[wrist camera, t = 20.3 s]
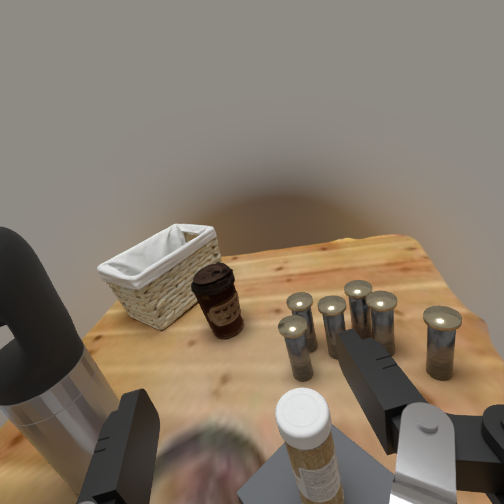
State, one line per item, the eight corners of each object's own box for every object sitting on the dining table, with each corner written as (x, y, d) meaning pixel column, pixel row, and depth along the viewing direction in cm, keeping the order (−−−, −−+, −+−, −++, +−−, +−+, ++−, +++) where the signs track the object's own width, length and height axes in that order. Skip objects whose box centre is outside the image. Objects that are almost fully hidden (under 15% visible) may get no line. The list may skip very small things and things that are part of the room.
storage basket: (159, 338, 62) (130, 278, 55) (120, 319, 72) (91, 266, 65) (233, 277, 77) (217, 224, 71) (192, 268, 87) (175, 221, 81)
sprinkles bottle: (299, 471, 33) (274, 387, 28) (341, 470, 32) (325, 383, 27) (301, 523, 29) (273, 437, 23) (349, 523, 28) (332, 433, 23)
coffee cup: (258, 324, 58) (242, 267, 53) (225, 350, 54) (203, 291, 48) (232, 309, 65) (215, 256, 59) (200, 331, 60) (179, 277, 55)
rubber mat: (238, 497, 33) (236, 492, 33) (316, 415, 39) (315, 410, 39) (334, 639, 23) (333, 635, 23) (418, 499, 29) (418, 494, 29)
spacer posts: (271, 364, 49) (258, 318, 45) (334, 311, 56) (328, 268, 52) (398, 462, 33) (396, 404, 28) (461, 369, 40) (467, 313, 36)
